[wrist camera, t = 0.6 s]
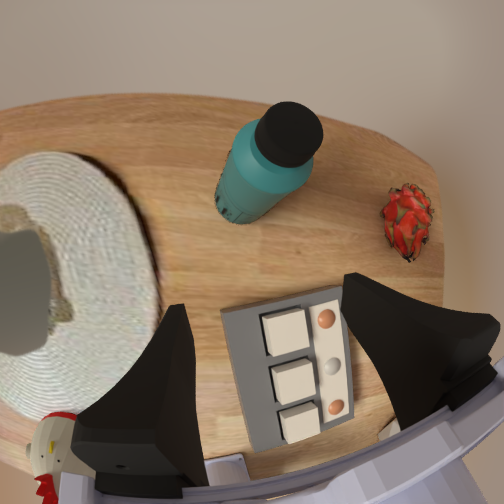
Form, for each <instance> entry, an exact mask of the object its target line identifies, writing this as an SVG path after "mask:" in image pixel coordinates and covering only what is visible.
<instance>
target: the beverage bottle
mask: <svg viewBox="0 0 504 504" xmlns="http://www.w3.org/2000/svg"><path fill="white" fill-rule="evenodd" d="M322 140H323V128H322V125H321V123H320V121H319V119H318V117H317V116H316V115H315V114H314V113H313V112H312V111H311V110H310V109H308V108H307V107H305V106H303V105H301V104H299V103H295V102H280V103H277V104H275V105H273V106H272V107H270V108H269V109H268V110H267V112H266V113H265V115H264V116H263V117H262V118H261V119H257V120H254V121H252V122H250V123H248V124H246V125H245V126H244V127H243V128H241V130H240V131H239V132H238V133H237V135H236V137H235V139H234V142H233V146H232V149H231V153H230V151H229V153H230V155H228V154H227V155H228V156H229V157H228V160H227V159H226V161H227V162H226V165H225V168H224V169H222V170H224V171H223V173H221V177H220V178H221V179H219V180H220V182H219V181H218V182H219V185H218V184H217V185H218V188H217V187H216V189H217V191H215V194H216V195H214V196H215V197H214V198H215V202H216V207H217V208H218V210H217V211H219V212H220V213H219V214H221V215H222V216H223V217H224V218H225V220H226V219H227V220H228V222H229V221H230V223H231V222H232V223H236V225H237V224H240V225H241V224H242V225H243V224H248V223H249V224H250V223H251V222H253V221H255V220H257V219H258V218H259V217H261V216H262V215H263V214H264V215H265V213H266V212H267V211H268V210H269V209H271V208H272V207H273V206H274V205H275V204H276V203H278V202H279V201H280V200H282V199H283V198H284V197H286V196H287V195H288V194H290V193H291V192H293V191H295V190H297V189H298V188H299V187H301V186H302V185H303V184H304V183H305V182H306V181H307V180H308V178H309V176H310V174H311V172H312V168H313V155H314V153H315V152H316V151H317V150H318V148H319V147H320V145H321V143H322ZM273 208H274V207H273ZM268 212H269V211H268Z"/></svg>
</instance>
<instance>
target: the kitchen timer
mask: <svg viewBox="0 0 504 504" xmlns="http://www.w3.org/2000/svg"><path fill="white" fill-rule="evenodd" d="M76 417H77V415H75V414H72V413H66V412H54V413H50V414H49V415H47V416H45V417H44V418H43V419H42V420H41V421H40V423H39V425H38V426H37V428H36V430H35V432H34V434H33V438H32V443H29V444H27V447H26V456H27V458H28V459H31V466H32V469H33V472H34V475H35V480H37V482H38V483H39V485H40V486H39V488H38V490H37V492H36V494H37V495H39V496H44V499H43V503H42V504H58V501H59V490H60V481H61V473H62V472H63V471H65V472H70V473H76V474H81V475H86V476H90V477H93V478H95V475H96V471H95V470H93V469H92V468H90V467H89V466H88V465H86V464H85V463H84V462H82V461H81V460H80V459H78V458H77V457H76V456H75V455H74V454H73V452H72V451H71V449H70V446H71V440H72V434H73V428H74V424H75V420H76Z"/></svg>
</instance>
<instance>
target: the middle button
mask: <svg viewBox="0 0 504 504" xmlns="http://www.w3.org/2000/svg"><path fill="white" fill-rule="evenodd" d="M271 369H272V375H273V380H274V386H275V391H276V396H277V399H278V401H279V402H280V403H281V404H282V405H284V404H288V403H291V402H294V401H297V400H300V399H303V398H306V397H309V396H312V395H315V394H316V390H315V382H314V374H313V367H312V362H310V361H309V360H307V359H306V358H304V359H301V360H298V361H294V362H291V363H287V364H284V365H280V366H277V367H273V368H271Z"/></svg>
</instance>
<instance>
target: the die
mask: <svg viewBox="0 0 504 504" xmlns="http://www.w3.org/2000/svg"><path fill="white" fill-rule="evenodd" d="M399 432H401V431H400V427H399V424H398V421H397V417H396V418H395V419H394V420H393V421H392V422H391V423H390V424H388V425H387V426H386V427H385V428H384V429H383V430H382V431H381V432H379V433H378V437H379V440H380V441H382V440H384V439H386V438H388V437H391V436H393V435H395V434H397V433H399Z"/></svg>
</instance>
